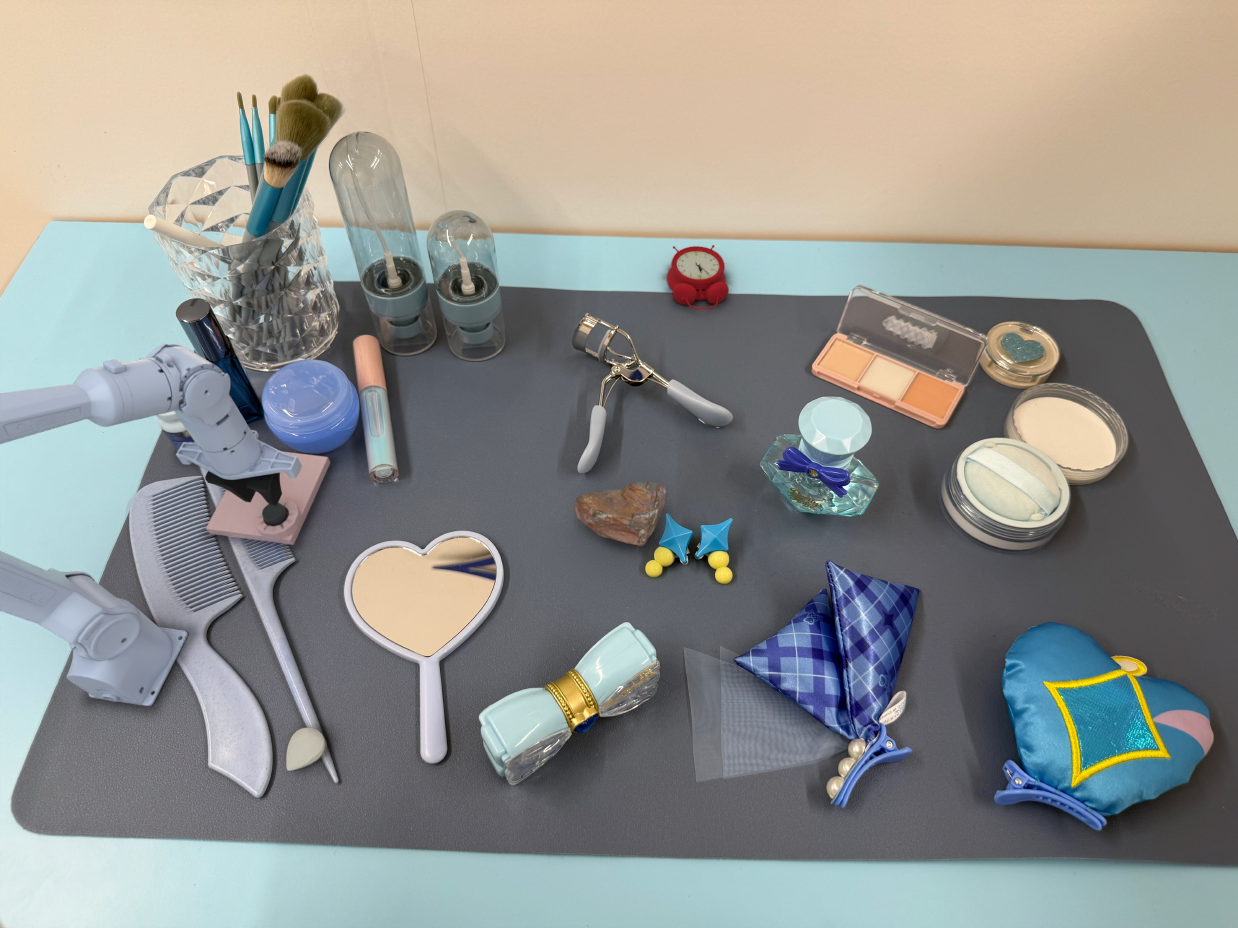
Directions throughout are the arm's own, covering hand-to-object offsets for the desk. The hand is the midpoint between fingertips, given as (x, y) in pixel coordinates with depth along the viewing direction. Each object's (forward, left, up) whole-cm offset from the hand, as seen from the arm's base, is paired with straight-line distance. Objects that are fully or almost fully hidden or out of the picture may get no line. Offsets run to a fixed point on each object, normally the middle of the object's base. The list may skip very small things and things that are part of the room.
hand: (264, 497), depth 100 cm
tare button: (0, 0, -5) cm, 5 cm away
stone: (+6, -46, -8) cm, 47 cm away
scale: (+4, +4, -7) cm, 9 cm away
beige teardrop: (-28, -14, -8) cm, 33 cm away
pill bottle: (+12, +18, -8) cm, 22 cm away
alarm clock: (+58, -52, -8) cm, 78 cm away
